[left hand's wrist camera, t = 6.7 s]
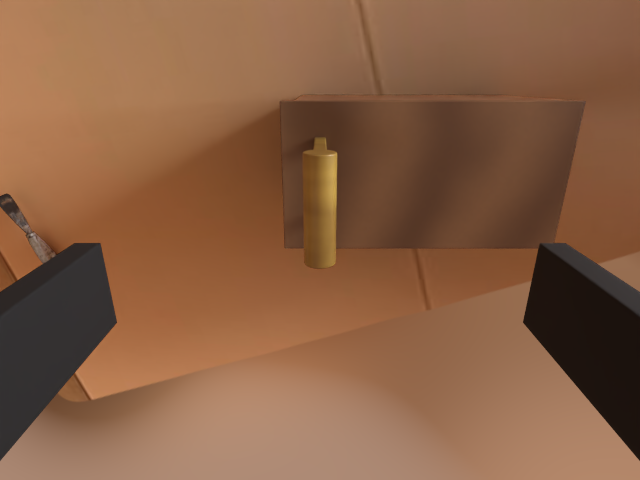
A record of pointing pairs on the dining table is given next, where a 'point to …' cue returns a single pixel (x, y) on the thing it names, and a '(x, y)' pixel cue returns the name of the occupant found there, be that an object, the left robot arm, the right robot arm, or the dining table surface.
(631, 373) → the left robot arm
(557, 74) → the dining table surface
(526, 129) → the lid
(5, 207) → the putty knife
